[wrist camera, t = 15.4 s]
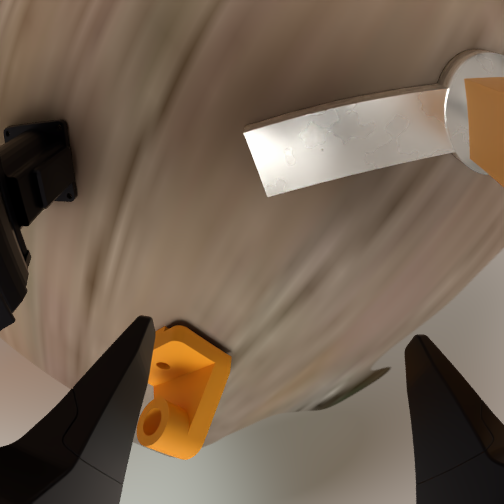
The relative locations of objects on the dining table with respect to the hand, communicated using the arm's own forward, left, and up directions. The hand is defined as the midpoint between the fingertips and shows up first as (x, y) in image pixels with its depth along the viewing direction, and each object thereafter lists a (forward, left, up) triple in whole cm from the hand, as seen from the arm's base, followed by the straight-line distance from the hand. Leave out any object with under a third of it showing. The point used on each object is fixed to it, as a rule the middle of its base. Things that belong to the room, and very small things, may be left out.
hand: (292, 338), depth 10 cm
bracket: (-8, -22, -13) cm, 27 cm away
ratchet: (+8, +5, -13) cm, 16 cm away
